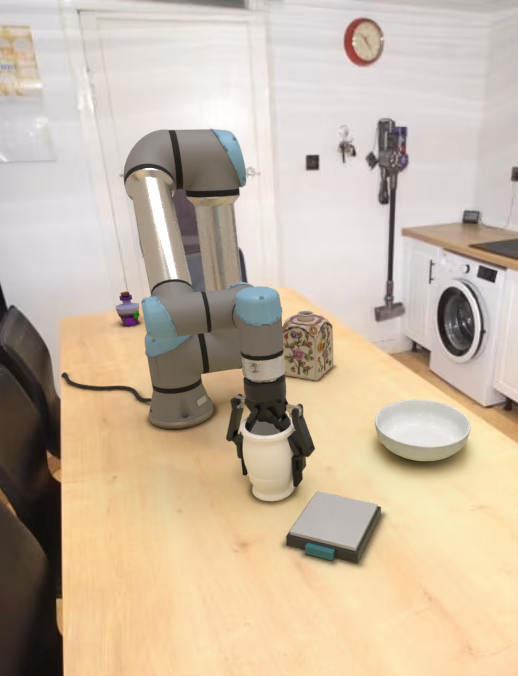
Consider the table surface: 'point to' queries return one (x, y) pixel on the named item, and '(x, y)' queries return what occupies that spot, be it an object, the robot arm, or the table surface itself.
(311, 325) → the decorative jar
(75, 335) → the table surface
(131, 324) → the potion bottle
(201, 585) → the table surface
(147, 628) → the table surface
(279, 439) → the jar
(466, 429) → the serving bowl
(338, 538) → the scale
